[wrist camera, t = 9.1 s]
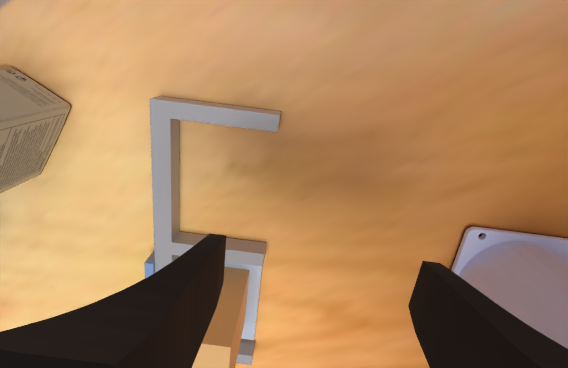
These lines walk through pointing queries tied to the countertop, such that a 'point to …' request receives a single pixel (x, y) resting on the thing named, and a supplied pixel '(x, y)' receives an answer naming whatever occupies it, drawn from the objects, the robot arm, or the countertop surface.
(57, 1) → the countertop surface
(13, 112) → the skincare box
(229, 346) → the tan cardboard-colored block
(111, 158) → the countertop surface
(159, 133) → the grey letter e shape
